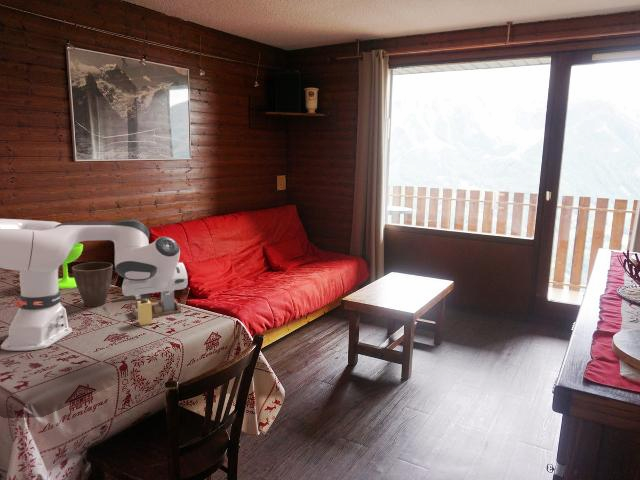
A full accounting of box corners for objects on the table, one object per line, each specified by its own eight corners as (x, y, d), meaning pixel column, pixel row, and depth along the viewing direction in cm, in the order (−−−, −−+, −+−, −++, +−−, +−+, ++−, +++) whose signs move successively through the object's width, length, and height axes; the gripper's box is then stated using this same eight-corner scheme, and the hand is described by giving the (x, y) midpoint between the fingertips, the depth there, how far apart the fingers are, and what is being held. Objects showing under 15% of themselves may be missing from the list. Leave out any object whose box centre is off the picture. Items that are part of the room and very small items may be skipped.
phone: (153, 299, 199) (116, 305, 190) (153, 302, 199) (116, 308, 190) (147, 294, 205) (110, 300, 196) (147, 297, 205) (110, 302, 196)
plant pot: (67, 309, 185) (64, 270, 182) (84, 297, 200) (82, 261, 197) (105, 310, 186) (103, 271, 183) (120, 298, 201) (118, 262, 198)
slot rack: (181, 315, 183) (181, 305, 182) (137, 322, 174) (136, 312, 173) (174, 308, 190) (174, 299, 190) (131, 315, 182) (131, 305, 181)
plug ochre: (152, 326, 171) (151, 300, 169) (140, 328, 169) (139, 301, 167) (149, 323, 174) (148, 297, 172) (138, 325, 172) (137, 298, 170)
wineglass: (51, 280, 224) (48, 243, 221) (88, 278, 229) (85, 242, 226) (42, 289, 209) (39, 250, 206) (82, 287, 214) (79, 249, 211)
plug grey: (174, 311, 184) (173, 286, 182) (164, 313, 182) (163, 288, 180) (171, 308, 187) (170, 284, 185) (161, 310, 185) (160, 285, 183)
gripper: (125, 286, 142) (121, 308, 152) (192, 278, 153) (184, 299, 163) (122, 268, 145) (117, 291, 155) (188, 262, 156) (180, 283, 166)
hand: (152, 295), depth 159 cm, fingers open, 8 cm apart
